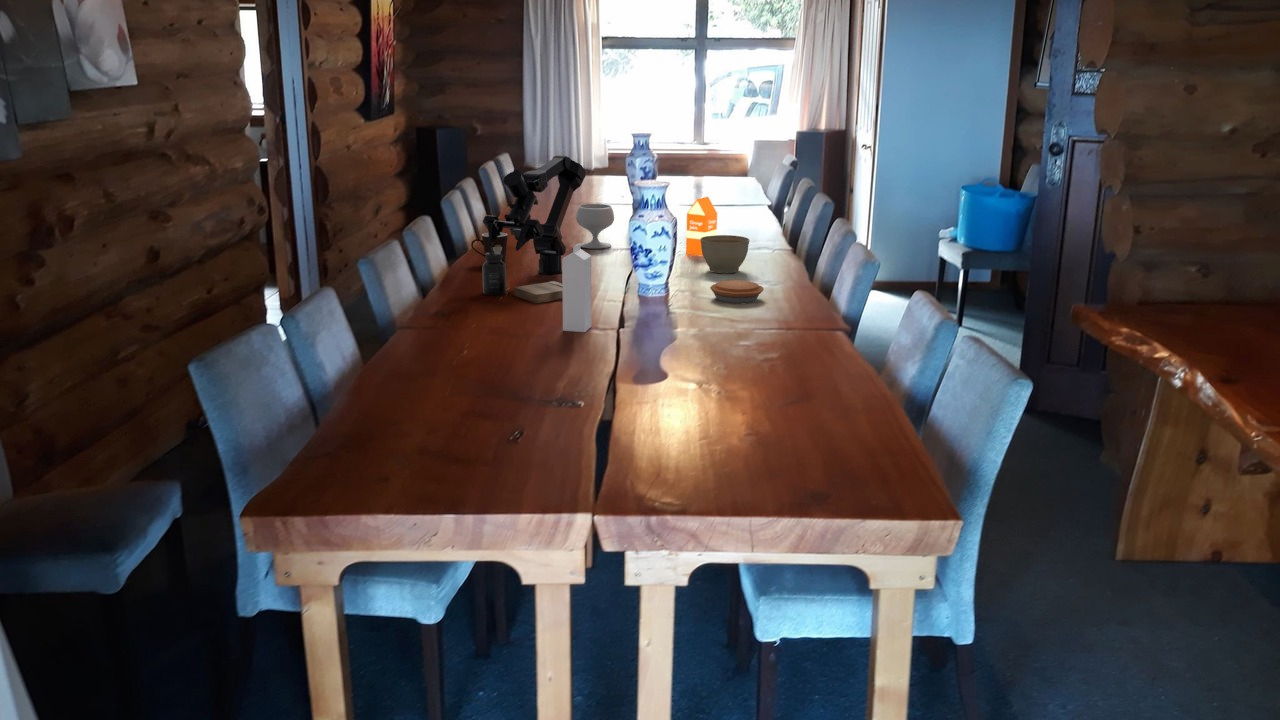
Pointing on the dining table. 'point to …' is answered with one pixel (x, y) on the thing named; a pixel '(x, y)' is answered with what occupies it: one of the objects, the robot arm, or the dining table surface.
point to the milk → (576, 290)
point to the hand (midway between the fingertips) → (503, 248)
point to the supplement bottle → (494, 274)
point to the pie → (736, 291)
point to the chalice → (595, 222)
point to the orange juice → (700, 224)
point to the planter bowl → (724, 252)
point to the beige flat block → (540, 292)
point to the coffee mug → (498, 246)
